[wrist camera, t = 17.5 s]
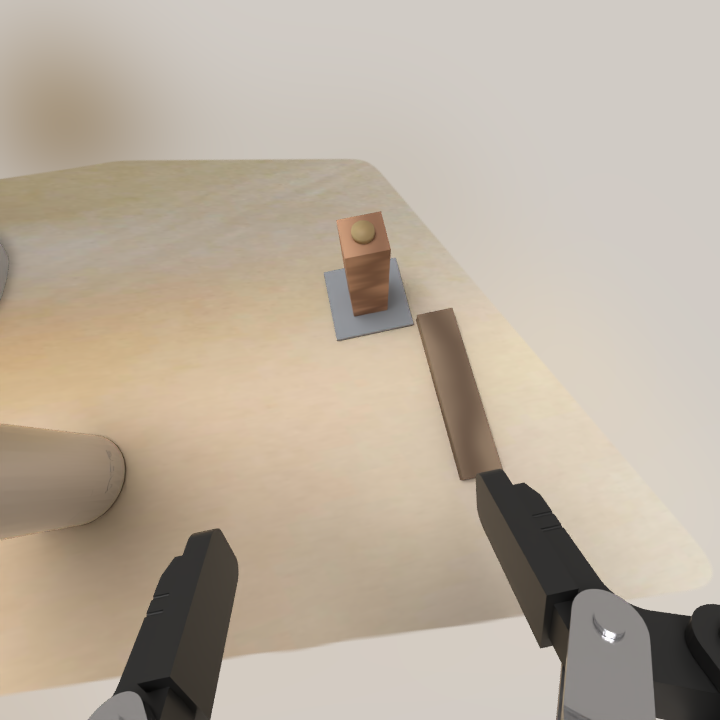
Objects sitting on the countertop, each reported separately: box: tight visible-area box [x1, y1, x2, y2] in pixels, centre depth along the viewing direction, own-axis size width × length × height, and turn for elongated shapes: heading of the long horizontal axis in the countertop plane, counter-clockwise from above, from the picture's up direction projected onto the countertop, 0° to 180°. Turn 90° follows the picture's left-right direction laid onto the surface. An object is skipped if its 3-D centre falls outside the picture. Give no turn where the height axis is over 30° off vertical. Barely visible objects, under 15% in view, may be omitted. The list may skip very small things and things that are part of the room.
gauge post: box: [336, 211, 391, 317], centre depth 36 cm, size 4×4×13 cm
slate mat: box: [324, 258, 413, 341], centre depth 43 cm, size 9×9×1 cm
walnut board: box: [416, 308, 503, 480], centre depth 38 cm, size 4×18×2 cm, turn 12°
